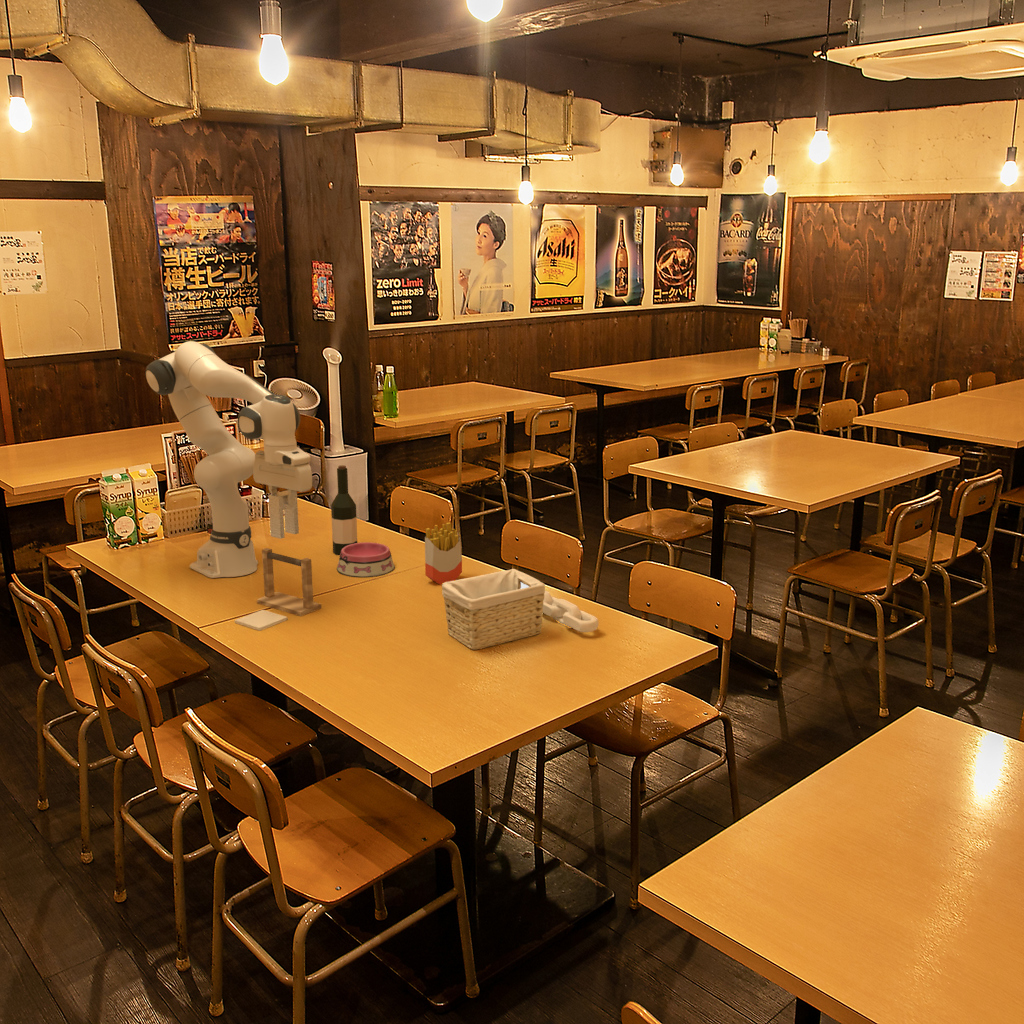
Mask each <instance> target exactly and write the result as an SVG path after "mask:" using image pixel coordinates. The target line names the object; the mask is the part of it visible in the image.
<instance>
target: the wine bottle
mask: <svg viewBox="0 0 1024 1024" xmlns="http://www.w3.org/2000/svg"><path fill="white" fill-rule="evenodd" d="M337 467H338V468H336V473H337V474H336V475H337V478H336V479H337V494H336V495H335V498H334V499H333V501H332V502H331V505H330V510H331V511H330V512H331V514H330V515H331V533H332V534H331V535H332V536H331V537H332V552H333V554H334V555H335V556H340V554H341V550H342V549H343V548H344V547H345V546H347V545H350V544H355V543H358V525H357V521H358V520H357V504H356V503H355V501H354V500H353V498H352V496H351V495H350V493H349V482H348V481H349V479H348V468H347V466H346V465H338V466H337Z"/></svg>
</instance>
